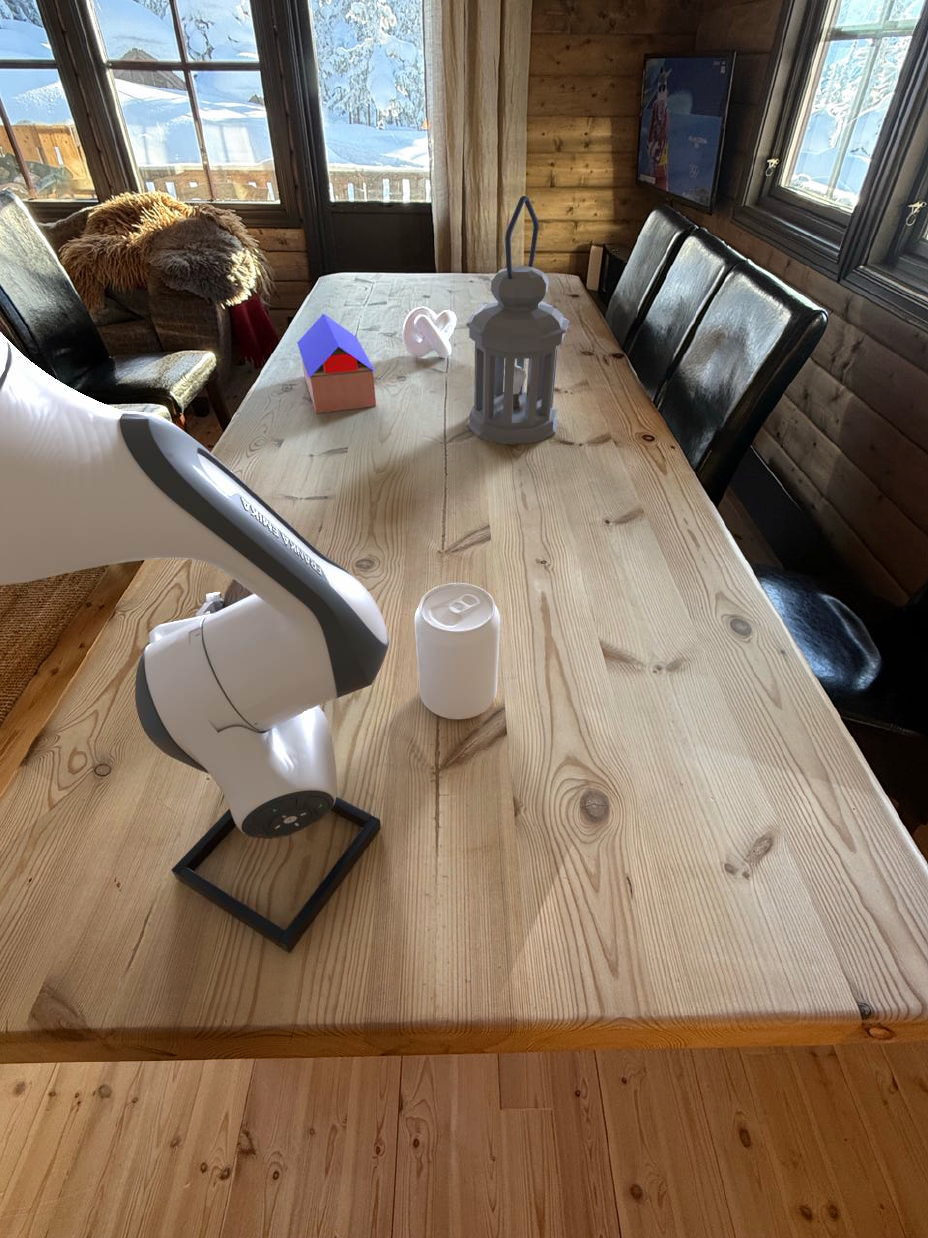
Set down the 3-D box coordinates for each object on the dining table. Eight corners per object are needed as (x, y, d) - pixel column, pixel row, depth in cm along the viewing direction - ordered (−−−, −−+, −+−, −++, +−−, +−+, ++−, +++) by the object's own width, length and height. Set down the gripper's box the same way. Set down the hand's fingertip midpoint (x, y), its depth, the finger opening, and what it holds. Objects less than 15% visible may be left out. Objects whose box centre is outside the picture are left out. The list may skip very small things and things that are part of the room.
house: (359, 369, 139) (353, 310, 131) (378, 406, 125) (372, 342, 117) (302, 375, 136) (292, 316, 129) (314, 414, 122) (304, 349, 114)
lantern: (485, 399, 127) (489, 184, 104) (569, 412, 122) (593, 190, 99) (452, 435, 115) (449, 201, 92) (544, 451, 111) (565, 209, 88)
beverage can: (403, 692, 69) (396, 604, 61) (460, 655, 73) (459, 569, 66) (455, 736, 65) (454, 648, 57) (512, 695, 69) (518, 607, 61)
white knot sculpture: (465, 361, 143) (465, 317, 137) (411, 366, 140) (409, 322, 134) (452, 344, 151) (451, 302, 145) (400, 349, 148) (398, 306, 142)
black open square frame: (289, 954, 49) (286, 945, 48) (176, 879, 54) (170, 869, 53) (381, 828, 57) (379, 819, 56) (275, 772, 62) (272, 762, 61)
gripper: (373, 627, 61) (344, 547, 71) (140, 679, 57) (144, 586, 66) (379, 674, 66) (351, 593, 76) (162, 727, 61) (163, 632, 71)
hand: (252, 590), depth 71 cm, fingers closed on vase, 6 cm apart
